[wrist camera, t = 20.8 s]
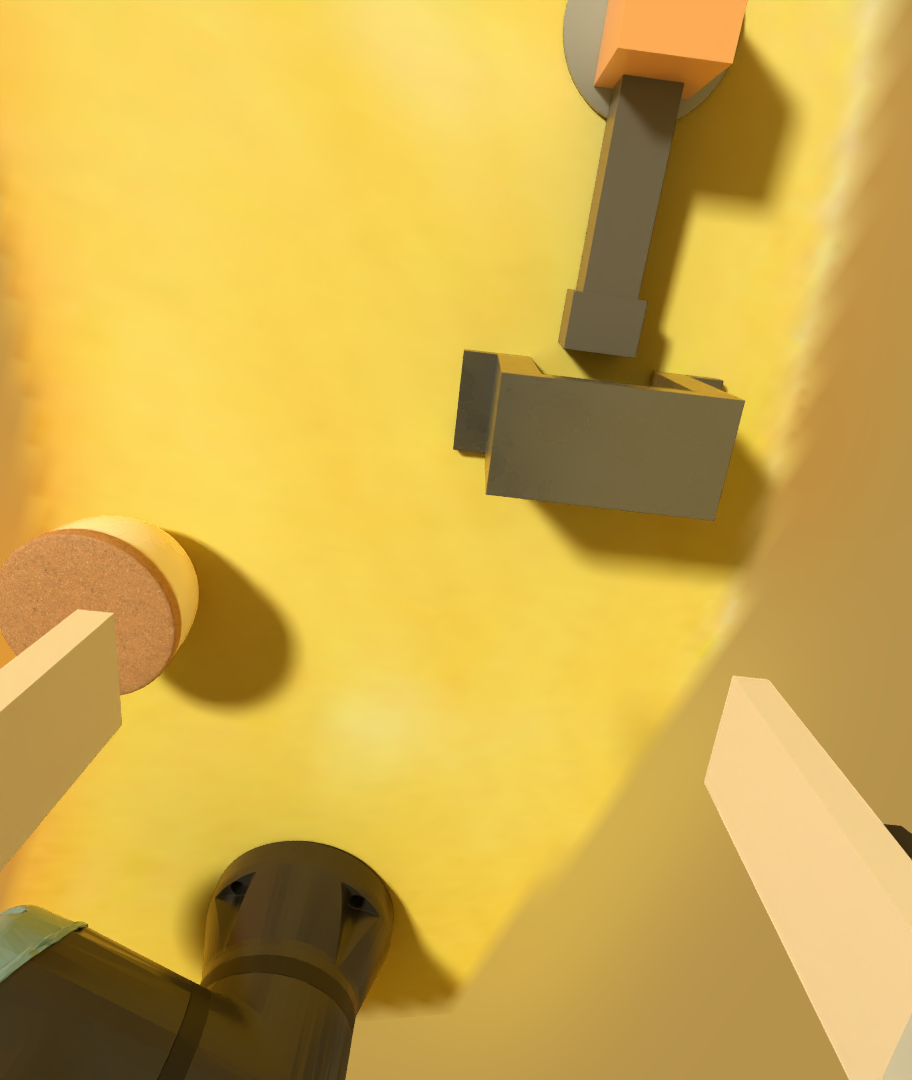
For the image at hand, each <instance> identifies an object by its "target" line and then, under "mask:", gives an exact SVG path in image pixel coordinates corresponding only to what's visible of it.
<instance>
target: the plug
mask: <svg viewBox="0 0 912 1080" xmlns="http://www.w3.org/2000/svg"><path fill="white" fill-rule="evenodd" d="M747 1H748V0H608V5H607V11H606V17H605V23H604V29H603V34H602V40H601V46H600V52H599V58H598V64H597V69H596V75H595V81H594V86H595V87H603V88H610V89H612V94H611V100H610V105H609V111H608V116H607V122H606V127H605V133H604V138H603V144H602V149H601V155H600V160H599V166H598V171H597V177H596V182H595V188H594V193H593V199H592V204H591V210H590V215H589V221H588V227H587V232H586V238H585V243H584V249H583V254H582V260H581V265H580V271H579V276H578V282H577V287H576V290H571V289H567V294H566V300H565V306H564V311H563V317H562V323H561V328H560V334H559V340H558V342H559V344H560V345H561V346H562V347H563V348H565V349H572V350H580V351H587V352H595V353H602V354H609V355H617V356H624V357H632V358H635V356H636V352H637V347H638V343H639V338H640V334H641V329H642V325H643V320H644V315H645V311H646V306H647V302H648V301H645V300H641V299H638V296H639V291H640V287H641V282H642V277H643V273H644V268H645V264H646V259H647V254H648V250H649V245H650V240H651V236H652V231H653V226H654V222H655V217H656V212H657V208H658V203H659V199H660V194H661V189H662V185H663V180H664V175H665V171H666V166H667V161H668V157H669V152H670V147H671V143H672V138H673V134H674V129H675V124H676V120H677V115H678V110H679V106H680V101H681V98H682V99H689V98H690V97H691V96H692V95H694V94H695V93H696V92H697V91H699V90H700V89H701V88H702V87H704V86H705V85H706V84H708V83H709V82H710V81H711V80H713V79H714V78H715V77H716V76H718V75H719V74H720V73H721V72H723V71H724V70H725V69H726V68H728V67H729V66H730V65H732V64H733V60H734V56H735V52H736V47H737V43H738V39H739V35H740V30H741V26H742V22H743V18H744V13H745V9H746V5H747Z"/></svg>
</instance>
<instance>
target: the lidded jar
mask: <svg viewBox="0 0 912 1080" xmlns="http://www.w3.org/2000/svg"><path fill="white" fill-rule="evenodd" d="M198 600H199V587H198V579H197V575H196V572H195V569H194V567H193V564H192V562H191V560H190V558H189V557H188V555H187V553H186V552H185V550H184V549H183V548H182V547H181V545H180V544H179V543H178V542H177V541H176V540H175V539H174V538H173V537H172V536H170V535H169V534H168V533H166V532H165V531H163V530H162V529H160V528H159V527H157V526H155V525H153V524H151V523H149V522H146V521H143V520H140V519H137V518H132V517H127V516H116V515H104V516H95V517H89V518H85V519H81V520H77V521H74V522H71V523H68V524H65V525H63V526H61V527H59V528H57V529H55V530H53V531H51V532H48V533H45V534H42V535H40V536H38V537H36V538H34V539H32V540H30V541H28V542H26V543H24V544H23V545H22V546H20V547H19V548H17V549H16V550H15V551H14V552H13V553H12V554H11V555H10V556H9V557H8V558H7V559H6V560H5V562H4V564H3V566H2V567H1V569H0V630H1V632H2V635H3V636H4V638H5V640H6V641H7V643H8V645H9V646H10V648H11V649H12V650H13V652H14V653H15V654H16V656H18V655H19V654H21V653H22V652H23V651H24V650H26V649H27V648H28V647H30V646H31V645H32V644H33V643H35V642H36V641H37V640H39V639H40V638H41V637H42V636H44V635H45V634H46V633H48V632H49V631H50V630H51V629H53V628H54V627H55V626H57V625H58V624H59V623H60V622H62V621H63V620H64V619H66V618H67V617H68V616H69V615H71V614H72V613H73V612H75V611H76V610H77V609H80V610H90V611H99V612H109V613H114V619H115V633H116V647H117V661H118V675H119V690H120V695H124V694H128V693H132V692H134V691H136V690H139V689H141V688H143V687H145V686H146V685H148V684H149V683H151V682H152V681H154V680H155V679H156V678H157V677H158V676H159V675H160V674H161V673H162V672H163V671H164V669H165V668H166V667H167V665H168V664H169V663H170V661H171V660H172V658H173V657H174V654H175V653H176V651H177V650H178V649H179V647H180V646H181V644H182V643H183V642H184V640H185V638H186V637H187V635H188V633H189V631H190V629H191V626H192V624H193V622H194V619H195V616H196V612H197V608H198Z"/></svg>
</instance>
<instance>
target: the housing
mask: <svg viewBox="0 0 912 1080" xmlns="http://www.w3.org/2000/svg"><path fill="white" fill-rule="evenodd" d="M722 384H723V380H720V379H715V378H706V377H697V376H689V375H680V374H672V373H663V372H654V371H653V375H652V380H651V385H650V386H641V385H633V384H624V383H615V382H607V381H598V380H590V379H581V378H572V377H564V376H555V375H547V374H542V373H541V372H540V371H539V369H538V368H537V366H536V365H535V363H534V362H533V360H532V359H531V358H530V357H526V356H517V355H508V354H500V353H491V352H483V351H474V350H466V349H464V356H463V365H462V374H461V383H460V392H459V401H458V410H457V419H456V428H455V437H454V447H453V449H454V450H462V451H471V452H480V453H485V477H486V495H495V496H503V497H512V498H521V499H529V500H538V501H547V502H555V503H564V504H573V505H581V506H590V507H599V508H607V509H616V510H625V511H633V512H642V513H651V514H659V515H668V516H676V517H685V518H694V519H702V520H711V521H714V519H715V516H716V512H717V508H718V504H719V500H720V496H721V492H722V488H723V485H724V481H725V477H726V473H727V469H728V465H729V461H730V457H731V454H732V450H733V446H734V442H735V438H736V434H737V430H738V426H739V423H740V419H741V415H742V411H743V407H744V403H745V400H742V399H740V398H738V397H735V396H733V395H731V394H729V393H726V392H724V391H722V390H721V388H722Z"/></svg>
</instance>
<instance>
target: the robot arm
mask: <svg viewBox="0 0 912 1080" xmlns="http://www.w3.org/2000/svg"><path fill="white" fill-rule="evenodd" d="M121 725H122V718H121V704H120V690H119V675H118V661H117V647H116V633H115V619H114V613H109V612H99V611H90V610H80V609H77V610H76V611H75V612H73V613H72V614H71V615H69V616H68V617H67V618H66V619H64V620H63V621H62V622H60V623H59V624H58V625H57V626H55V627H54V628H53V629H51V630H50V631H49V632H48V633H46V634H45V635H44V636H42V637H41V638H40V639H39V640H37V641H36V642H35V643H33V644H32V645H31V646H30V647H28V648H27V649H26V650H24V651H23V652H22V653H21V654H19V655H18V656H17V657H16V658H14V659H13V660H12V661H10V662H9V663H8V664H6V665H5V666H4V667H3V668H1V669H0V871H1V870H2V869H3V867H4V866H5V865H6V864H7V863H8V861H9V860H10V859H11V858H12V857H13V856H14V854H15V853H16V852H17V851H18V850H19V848H20V847H21V846H22V845H23V844H24V842H25V841H26V840H27V839H28V838H29V836H30V835H31V834H32V833H33V831H34V830H35V829H36V828H37V827H38V825H39V824H40V823H41V822H42V821H43V819H44V818H45V817H46V816H47V815H48V813H49V812H50V811H51V810H52V809H53V807H54V806H55V805H56V804H57V802H58V801H59V800H60V799H61V798H62V796H63V795H64V794H65V793H66V792H67V790H68V789H69V788H70V787H71V786H72V784H73V783H74V782H75V781H76V780H77V778H78V777H79V776H80V775H81V773H82V772H83V771H84V770H85V769H86V767H87V766H88V765H89V764H90V763H91V761H92V760H93V759H94V758H95V757H96V755H97V754H98V753H99V752H100V751H101V749H102V748H103V747H104V746H105V744H106V743H107V742H108V741H109V740H110V738H111V737H112V736H113V735H114V734H115V732H116V731H117V730H118V729H119V728H120V726H121ZM704 784H705V786H706V787H707V790H708V792H709V794H710V796H711V798H712V800H713V802H714V804H715V806H716V808H717V810H718V812H719V814H720V816H721V818H722V821H723V823H724V824H725V826H726V829H727V831H728V833H729V835H730V837H731V839H732V841H733V843H734V845H735V847H736V849H737V851H738V853H739V855H740V857H741V859H742V861H743V863H744V865H745V867H746V870H747V872H748V874H749V876H750V878H751V880H752V882H753V884H754V886H755V888H756V890H757V892H758V894H759V896H760V898H761V900H762V902H763V905H764V906H765V908H766V910H767V912H768V915H769V917H770V919H771V921H772V923H773V925H774V927H775V929H776V931H777V933H778V935H779V937H780V939H781V941H782V943H783V945H784V948H785V950H786V951H787V954H788V956H789V958H790V960H791V962H792V964H793V966H794V968H795V970H796V972H797V974H798V976H799V978H800V980H801V982H802V984H803V986H804V989H805V990H806V992H807V994H808V997H809V999H810V1001H811V1003H812V1005H813V1007H814V1009H815V1011H816V1013H817V1015H818V1017H819V1019H820V1021H821V1023H822V1025H823V1027H824V1029H825V1031H826V1033H827V1036H828V1038H829V1040H830V1042H831V1044H832V1046H833V1048H834V1050H835V1052H836V1054H837V1056H838V1058H839V1060H840V1062H841V1064H842V1066H843V1068H844V1070H845V1073H846V1074H847V1077H848V1079H849V1080H912V834H911V833H910V832H908V831H907V830H906V829H905V828H903V827H902V826H897V825H886V824H883V823H882V822H881V821H880V820H879V818H878V817H877V816H876V815H875V813H874V812H873V811H872V809H871V808H870V807H869V806H868V805H867V803H866V802H865V801H864V799H863V798H862V797H861V796H860V794H859V793H858V792H857V791H856V789H855V788H854V787H853V786H852V784H851V783H850V782H849V780H848V779H847V778H846V777H845V775H844V774H843V773H842V772H841V770H840V769H839V768H838V767H837V765H836V764H835V763H834V762H833V760H832V759H831V758H830V757H829V755H828V754H827V753H826V751H825V750H824V749H823V748H822V747H821V745H820V744H819V743H818V742H817V740H816V739H815V738H814V736H813V735H812V734H811V733H810V731H809V730H808V729H807V728H806V726H805V725H804V724H803V722H802V721H801V720H800V719H799V718H798V716H797V715H796V714H795V712H794V711H793V710H792V709H791V707H790V706H789V705H788V704H787V702H786V701H785V700H784V699H783V697H782V696H781V695H780V694H779V692H778V691H777V690H776V688H775V687H774V686H773V685H772V683H771V682H770V681H769V680H768V679H759V678H749V677H739V676H733V677H732V681H731V684H730V688H729V692H728V695H727V699H726V703H725V707H724V710H723V714H722V717H721V721H720V725H719V728H718V732H717V736H716V739H715V743H714V747H713V750H712V754H711V758H710V761H709V765H708V769H707V772H706V776H705V780H704ZM392 926H393V906H392V902H391V899H390V896H389V894H388V892H387V890H386V888H385V886H384V885H383V883H382V882H381V880H380V879H379V878H378V877H377V876H376V874H375V873H374V872H373V871H372V870H371V869H369V868H368V867H367V866H366V865H365V864H363V863H362V862H360V861H359V860H358V859H356V858H354V857H353V856H351V855H349V854H347V853H345V852H343V851H340V850H338V849H335V848H332V847H329V846H326V845H322V844H317V843H312V842H303V841H284V842H276V843H271V844H266V845H263V846H260V847H257V848H254V849H252V850H250V851H248V852H246V853H244V854H243V855H241V856H240V857H238V858H237V859H236V860H234V861H233V862H232V863H231V864H230V865H229V866H228V868H227V869H226V870H225V871H224V873H223V874H222V876H221V878H220V880H219V882H218V885H217V887H216V889H215V892H214V894H213V896H212V898H211V901H210V904H209V907H208V911H207V917H206V930H205V944H204V958H203V972H202V981H201V984H200V985H198V984H196V983H194V982H192V981H191V980H189V979H187V978H185V977H183V976H181V975H179V974H177V973H175V972H173V971H171V970H169V969H167V968H165V967H163V966H161V965H159V964H157V963H155V962H153V961H152V960H150V959H148V958H146V957H144V956H142V955H140V954H138V953H136V952H134V951H132V950H130V949H128V948H126V947H124V946H123V945H121V944H119V943H117V942H115V941H113V940H111V939H109V938H107V937H105V936H103V935H101V934H99V933H97V932H95V931H94V930H92V929H90V928H88V924H87V923H85V922H78V921H77V922H73V921H70V920H68V919H66V918H63V917H61V916H59V915H56V914H54V913H52V912H50V911H47V910H45V909H43V908H40V907H38V906H33V905H20V906H16V907H13V908H10V909H8V910H6V911H4V912H2V913H1V914H0V1080H345V1078H346V1071H347V1064H348V1059H349V1053H350V1047H351V1040H352V1034H353V1028H354V1023H355V1018H356V1015H357V1013H358V1011H359V1009H360V1007H361V1005H362V1003H363V1001H364V999H365V997H366V995H367V993H368V992H369V990H370V988H371V986H372V984H373V982H374V980H375V978H376V976H377V974H378V972H379V970H380V968H381V966H382V964H383V962H384V960H385V958H386V956H387V953H388V949H389V946H390V939H391V932H392Z"/></svg>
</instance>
